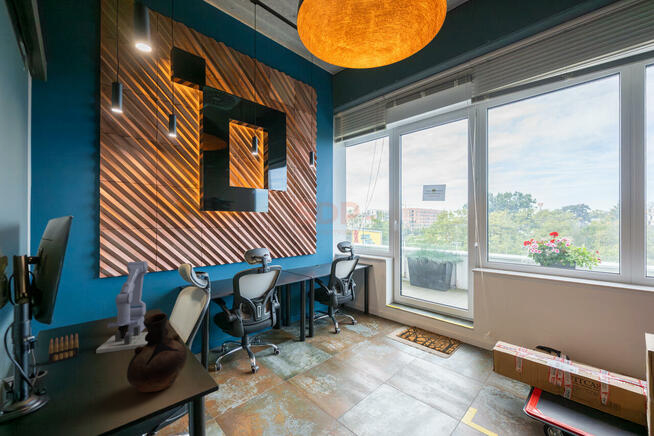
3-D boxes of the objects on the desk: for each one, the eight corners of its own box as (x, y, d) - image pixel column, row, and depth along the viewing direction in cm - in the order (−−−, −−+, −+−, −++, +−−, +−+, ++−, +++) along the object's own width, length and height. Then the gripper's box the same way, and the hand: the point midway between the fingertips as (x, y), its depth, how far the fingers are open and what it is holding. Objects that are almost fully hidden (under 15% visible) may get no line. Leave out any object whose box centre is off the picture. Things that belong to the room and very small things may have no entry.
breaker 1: (126, 342, 144) (126, 334, 144) (131, 341, 145) (131, 333, 145) (124, 344, 141) (124, 336, 141) (129, 343, 142) (129, 335, 142)
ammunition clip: (48, 364, 125) (48, 339, 126) (48, 363, 127) (48, 338, 127) (78, 356, 133) (79, 333, 133) (78, 355, 134) (79, 332, 134)
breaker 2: (135, 333, 155) (135, 326, 155) (140, 333, 156) (140, 325, 156) (133, 335, 152) (133, 328, 153) (138, 335, 153) (138, 327, 153)
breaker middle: (117, 339, 148) (117, 331, 148) (122, 338, 148) (122, 330, 148) (115, 341, 145) (115, 333, 145) (120, 340, 146) (120, 332, 146)
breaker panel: (113, 339, 153) (113, 335, 153) (155, 334, 160) (155, 330, 160) (96, 353, 136) (96, 349, 136) (144, 347, 142) (144, 343, 143)
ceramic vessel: (181, 369, 121) (182, 304, 122) (191, 386, 108) (192, 314, 108) (124, 388, 107) (126, 315, 108) (128, 411, 94) (129, 327, 95)
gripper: (104, 318, 142) (104, 343, 141) (135, 315, 146) (135, 339, 146) (111, 314, 148) (111, 338, 148) (140, 311, 153) (140, 334, 152)
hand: (123, 338), depth 147 cm, fingers closed
